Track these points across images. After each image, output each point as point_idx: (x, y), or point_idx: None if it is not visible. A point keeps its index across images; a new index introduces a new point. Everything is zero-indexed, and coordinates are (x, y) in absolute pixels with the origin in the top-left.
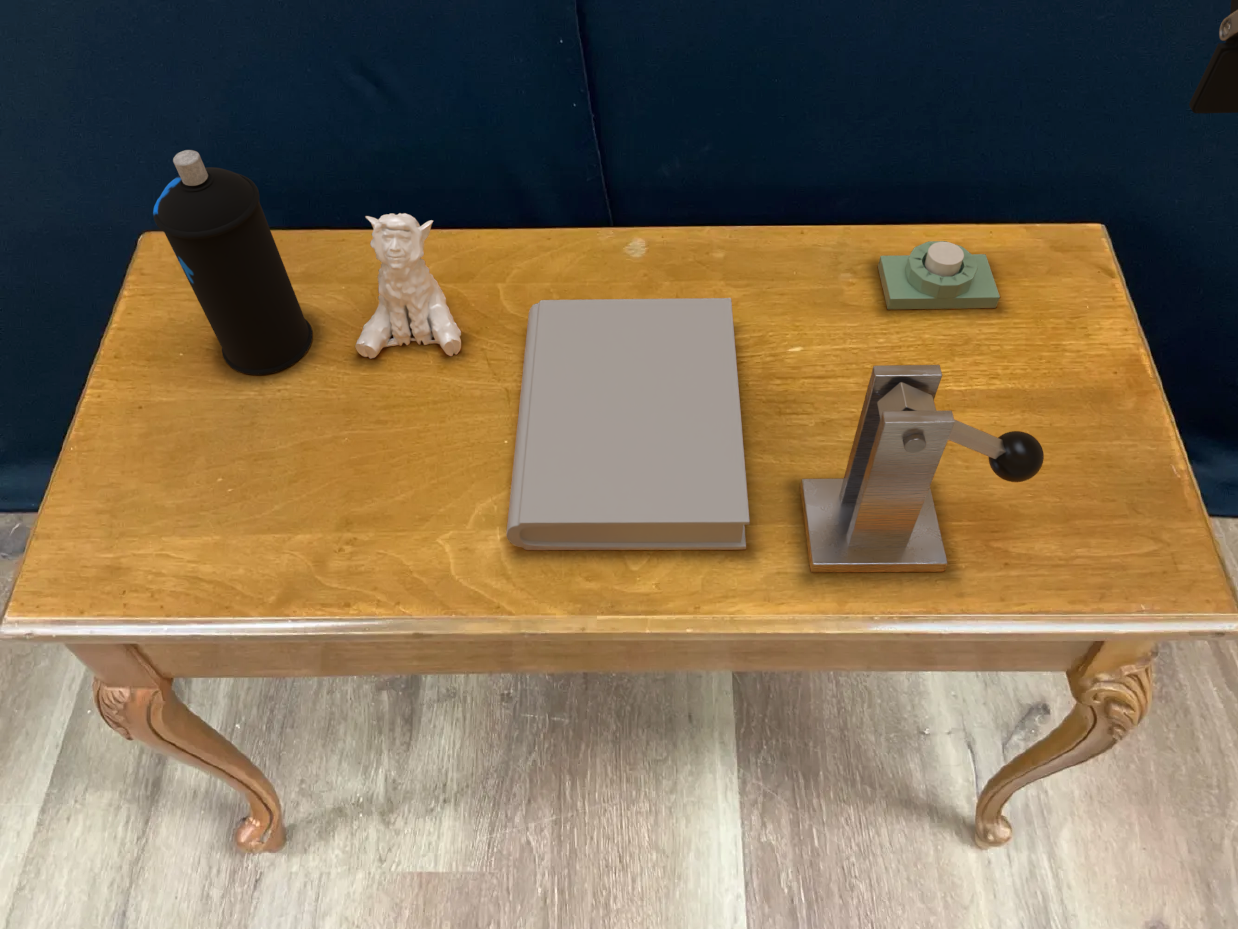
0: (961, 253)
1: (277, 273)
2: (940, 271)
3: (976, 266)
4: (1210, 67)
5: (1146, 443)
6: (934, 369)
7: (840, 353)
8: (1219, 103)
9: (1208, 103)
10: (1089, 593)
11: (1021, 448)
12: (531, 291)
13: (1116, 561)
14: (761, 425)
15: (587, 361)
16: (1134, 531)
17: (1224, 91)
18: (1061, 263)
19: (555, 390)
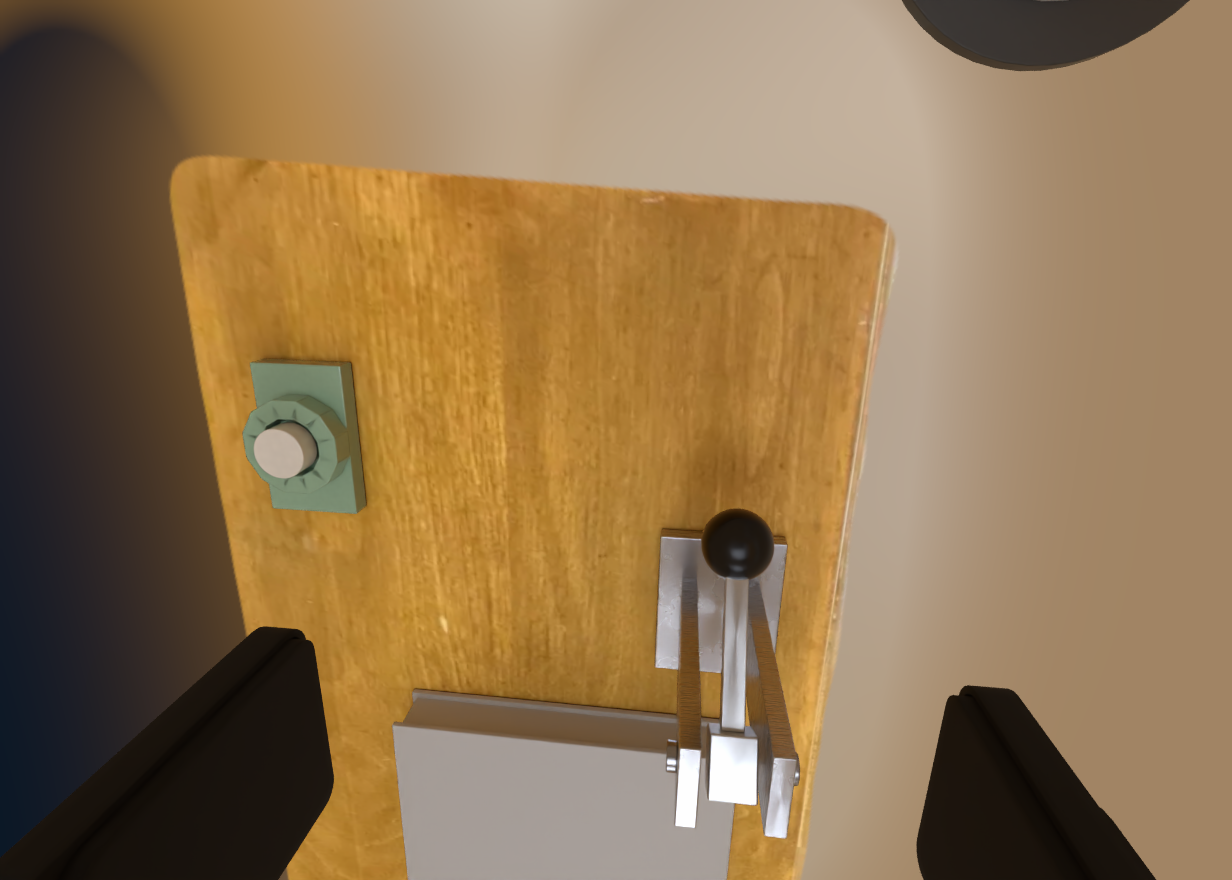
0: (276, 432)
1: None
2: (311, 459)
3: (292, 403)
4: None
5: (602, 224)
6: (689, 758)
7: (448, 576)
8: (304, 763)
9: (309, 798)
10: (834, 381)
11: (752, 566)
12: (370, 862)
13: (792, 333)
14: (564, 678)
15: (503, 872)
16: (749, 293)
17: (272, 811)
18: (243, 234)
19: None
